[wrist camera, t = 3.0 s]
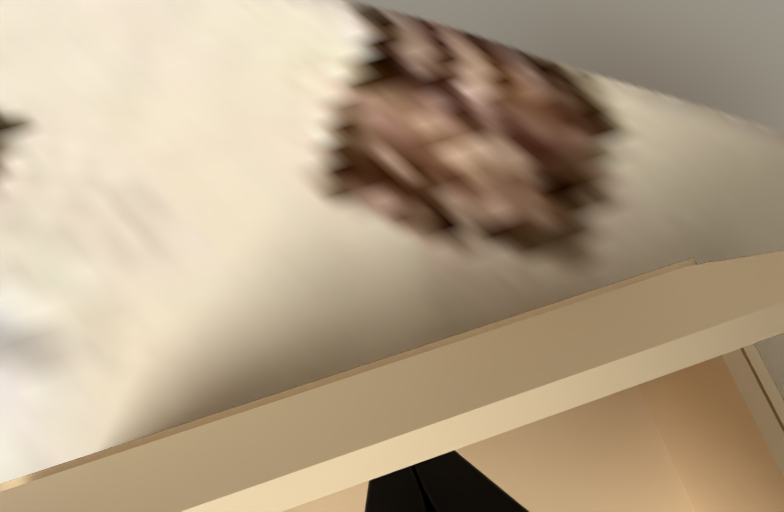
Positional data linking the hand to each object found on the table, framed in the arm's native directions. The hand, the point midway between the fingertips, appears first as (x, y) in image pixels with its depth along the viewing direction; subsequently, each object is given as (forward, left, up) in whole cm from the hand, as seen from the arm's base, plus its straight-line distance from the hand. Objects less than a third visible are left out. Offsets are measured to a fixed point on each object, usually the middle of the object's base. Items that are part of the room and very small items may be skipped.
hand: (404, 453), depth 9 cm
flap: (+1, +1, -4) cm, 4 cm away
